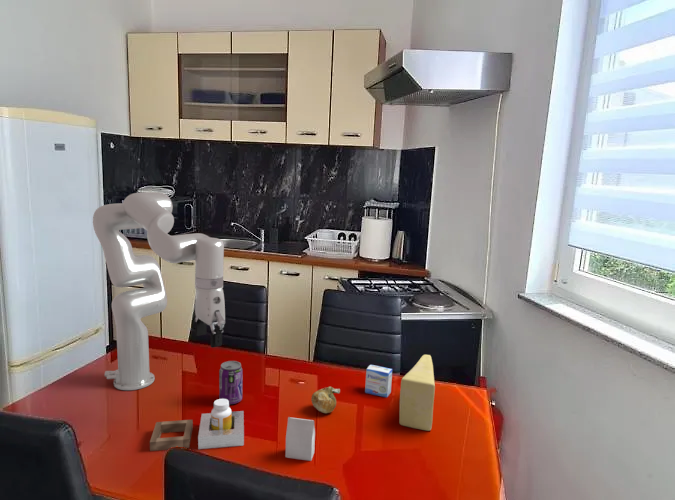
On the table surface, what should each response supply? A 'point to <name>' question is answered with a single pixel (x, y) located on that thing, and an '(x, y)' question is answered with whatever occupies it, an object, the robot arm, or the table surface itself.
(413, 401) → the cheese
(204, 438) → the metal collar
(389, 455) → the table surface
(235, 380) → the beverage can
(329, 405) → the onion
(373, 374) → the medicine box
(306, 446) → the white boxy piece
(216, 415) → the supplement bottle
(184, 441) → the brown square wooden frame
